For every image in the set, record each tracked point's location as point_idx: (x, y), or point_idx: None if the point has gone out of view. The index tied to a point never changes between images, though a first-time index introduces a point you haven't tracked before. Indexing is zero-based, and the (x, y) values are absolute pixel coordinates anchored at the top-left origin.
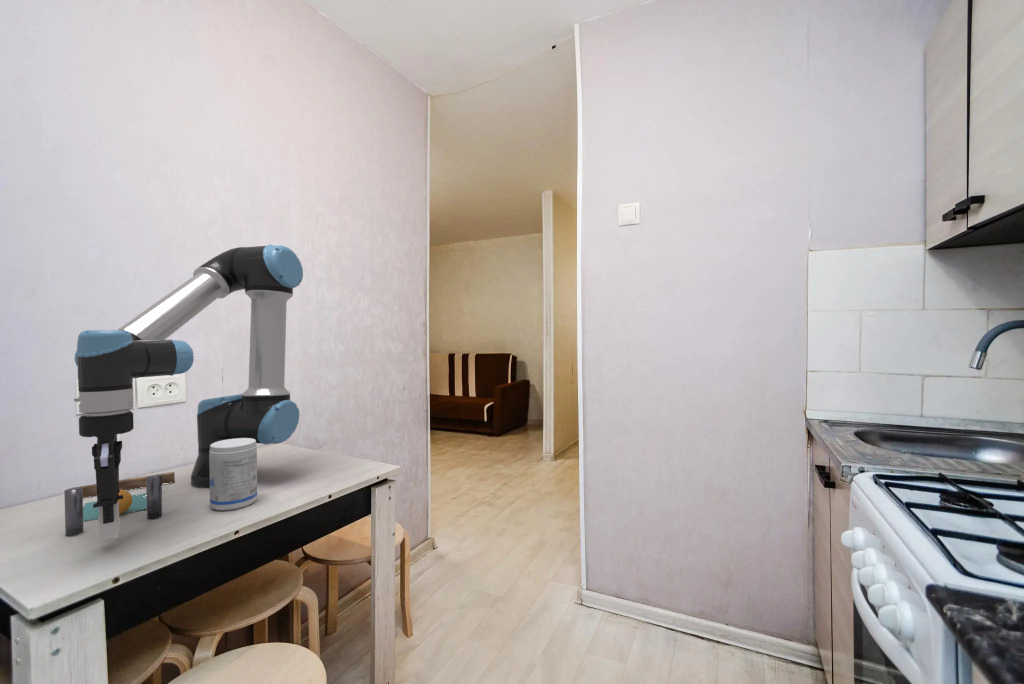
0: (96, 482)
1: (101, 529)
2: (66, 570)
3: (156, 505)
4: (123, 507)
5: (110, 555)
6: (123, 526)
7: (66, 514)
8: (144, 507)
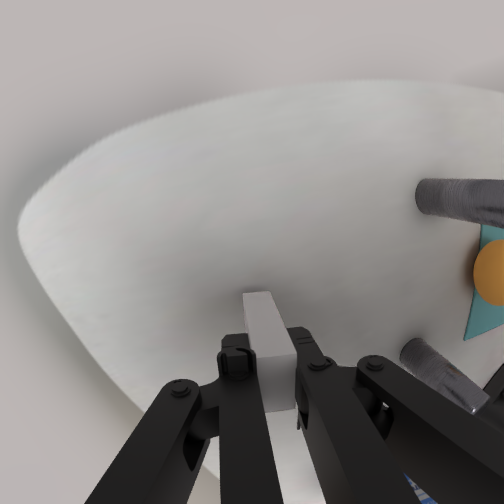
0: (94, 491)
1: (245, 315)
2: (147, 230)
3: (417, 376)
4: (478, 289)
5: (193, 312)
6: (405, 299)
7: (461, 183)
8: (478, 312)
